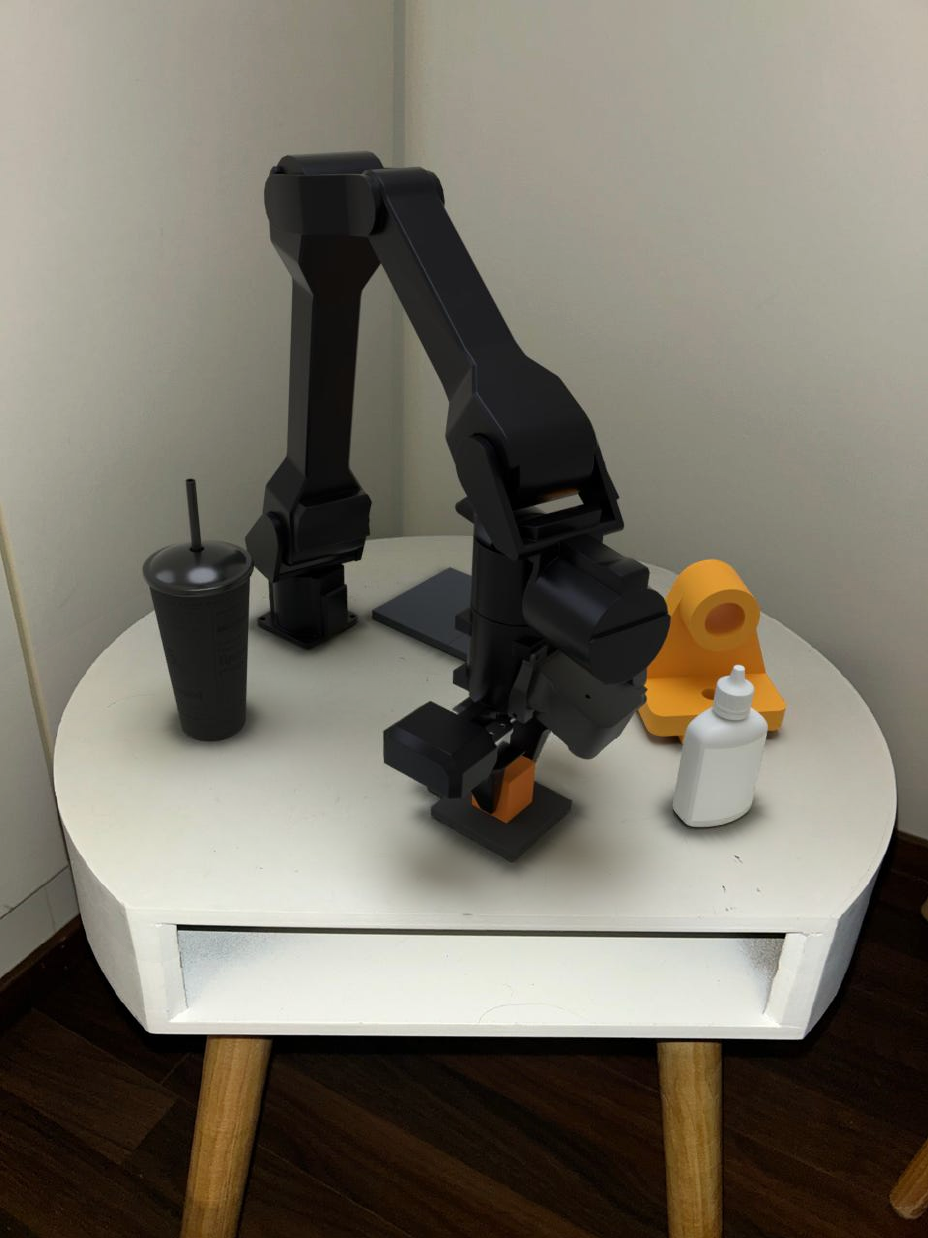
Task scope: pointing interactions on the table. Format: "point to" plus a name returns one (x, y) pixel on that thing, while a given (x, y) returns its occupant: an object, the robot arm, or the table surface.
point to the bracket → (706, 650)
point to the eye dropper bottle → (721, 756)
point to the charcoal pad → (432, 611)
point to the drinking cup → (203, 626)
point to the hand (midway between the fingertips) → (502, 798)
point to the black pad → (497, 830)
